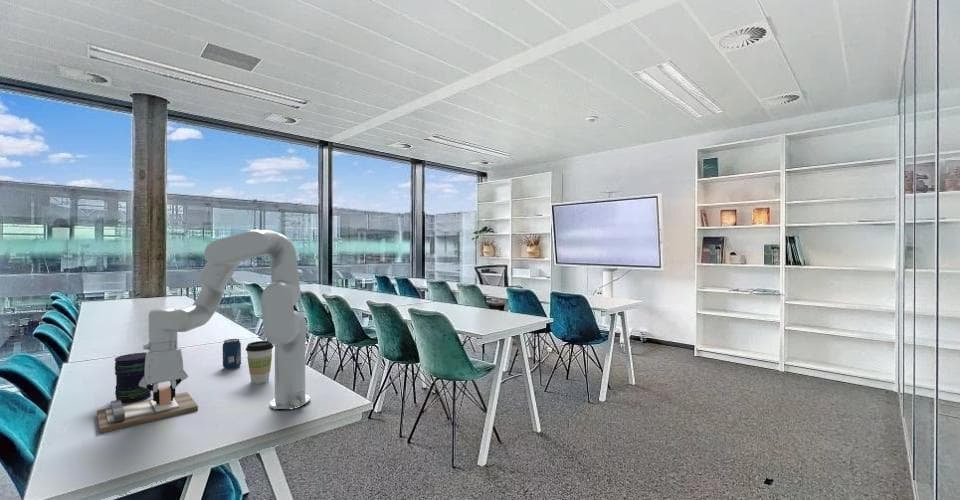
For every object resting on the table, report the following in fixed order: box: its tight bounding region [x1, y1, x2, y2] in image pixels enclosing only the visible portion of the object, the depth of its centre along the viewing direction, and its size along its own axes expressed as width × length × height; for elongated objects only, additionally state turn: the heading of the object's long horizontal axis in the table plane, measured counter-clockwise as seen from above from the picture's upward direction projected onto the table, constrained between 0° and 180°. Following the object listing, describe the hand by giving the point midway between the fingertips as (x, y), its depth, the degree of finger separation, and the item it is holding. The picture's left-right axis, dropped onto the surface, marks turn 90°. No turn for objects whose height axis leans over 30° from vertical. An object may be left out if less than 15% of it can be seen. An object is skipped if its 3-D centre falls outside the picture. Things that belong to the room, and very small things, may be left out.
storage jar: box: [114, 352, 152, 405], centre depth 150 cm, size 10×10×15 cm
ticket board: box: [96, 391, 199, 434], centre depth 138 cm, size 18×24×4 cm
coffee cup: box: [245, 340, 274, 384], centre depth 168 cm, size 10×10×15 cm
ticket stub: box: [151, 385, 179, 412], centre depth 141 cm, size 12×6×5 cm, turn 44°
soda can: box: [222, 338, 242, 370], centre depth 186 cm, size 7×7×12 cm
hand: (164, 400), depth 141 cm, fingers closed on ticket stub, 3 cm apart
